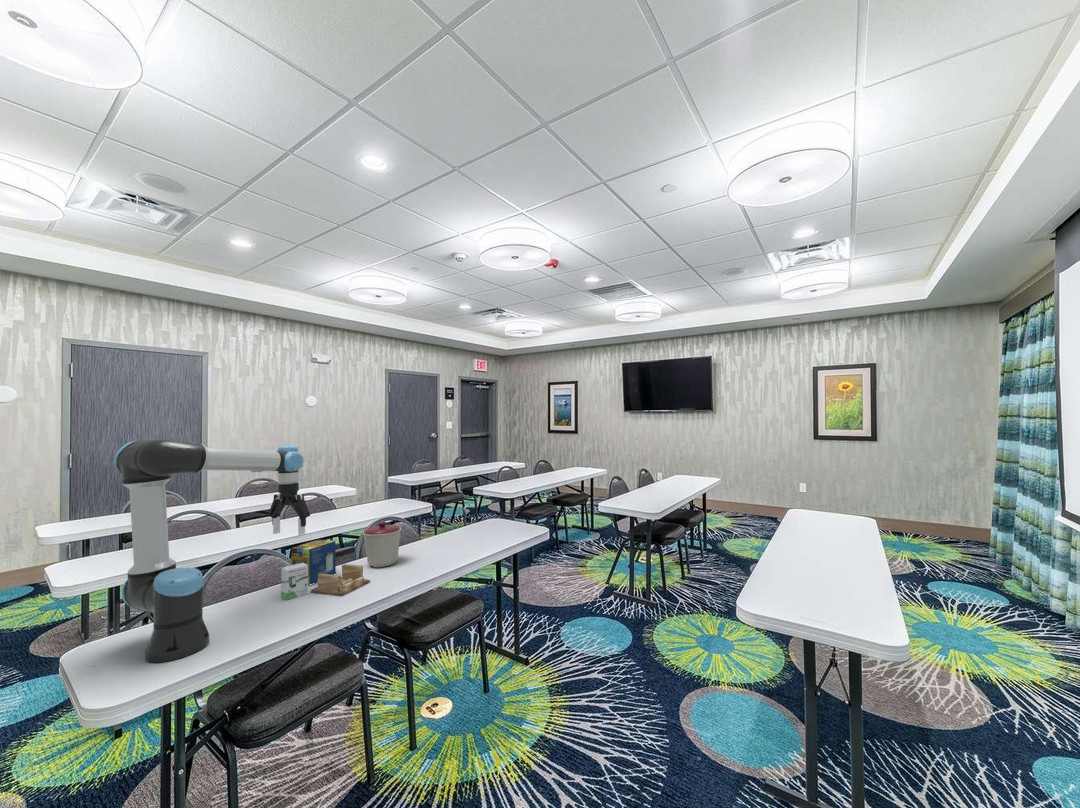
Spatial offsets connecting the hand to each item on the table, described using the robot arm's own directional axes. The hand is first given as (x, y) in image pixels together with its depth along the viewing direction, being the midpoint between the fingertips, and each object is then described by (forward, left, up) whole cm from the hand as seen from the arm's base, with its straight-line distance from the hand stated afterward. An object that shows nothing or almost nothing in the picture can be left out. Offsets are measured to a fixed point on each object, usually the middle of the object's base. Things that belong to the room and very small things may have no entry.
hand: (289, 533), depth 183 cm
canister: (+39, -15, -24) cm, 48 cm away
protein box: (+14, +2, -24) cm, 28 cm away
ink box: (-4, -7, -24) cm, 25 cm away
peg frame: (+8, -19, -23) cm, 31 cm away
